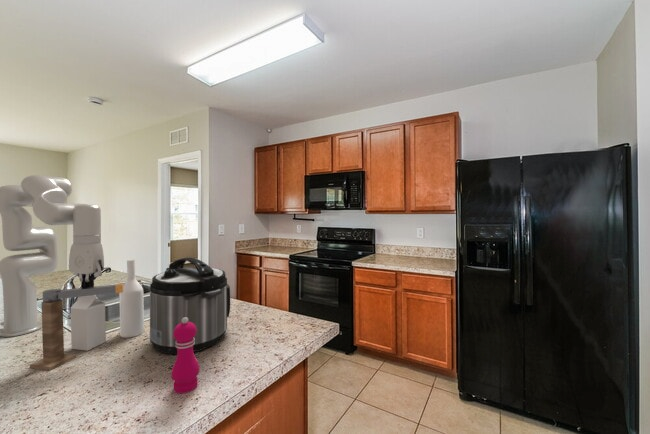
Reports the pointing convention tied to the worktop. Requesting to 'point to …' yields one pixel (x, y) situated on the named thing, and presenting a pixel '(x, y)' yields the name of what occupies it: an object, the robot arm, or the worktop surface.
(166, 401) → the worktop surface
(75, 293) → the arm
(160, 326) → the pressure cooker
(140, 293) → the bottle
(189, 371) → the pepper mill
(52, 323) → the gate post
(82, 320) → the milk carton
